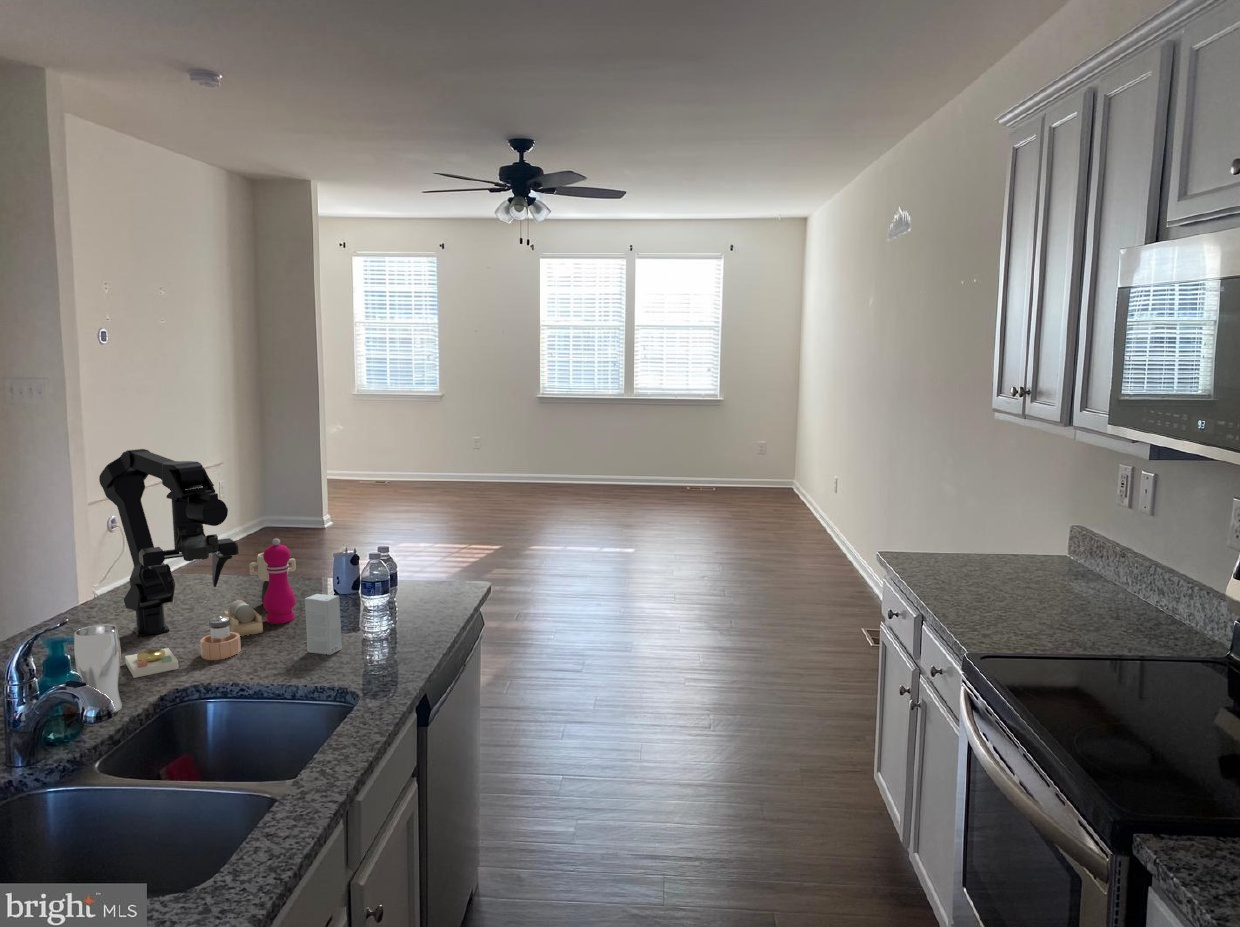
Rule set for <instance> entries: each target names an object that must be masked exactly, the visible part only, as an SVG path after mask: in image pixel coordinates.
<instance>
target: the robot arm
mask: <svg viewBox="0 0 1240 927" xmlns="http://www.w3.org/2000/svg"><path fill="white" fill-rule="evenodd" d="M148 476H152V477H155V478H158V479H160V481H161V485H162V486H163V487H166V488H167V490H170V491H169V493H167V494H166V499H169V500H171V512H172V529H173V546H174V548H173V549H166V550H165V549H164V550H163V549H162V548H161V547H160V546H155V545H154V541H153V539H152V534H151V531H150V528H149V523H148V520H147V516H146V514H145V510H144V506H143V503H142V498H143V495H144V492H145V489H146V484H145V480H146V479H147V478H148ZM98 478H99V480H98V481H99V485H100V487H101V488H102V489H103V492H104V495H105V497H106V498H107V499H108V500H110V502H112V504H114V505H115V506H116V507H117V510H118V514H119V518H120V521H121V525H122V527H123V533H124V535H125V539H126V543H127V545H128V546H127V547H128V549H129V553H130V557H131V560H132V564H133V569H132V571H131V575H130V576H129V577H130V578H129V584H130V587H129V589H128V592H127V593H126V594H125V596H124V597H123V603H124V605H125V606H124V607H125V609H128V610H131V611H134V612H135V619H136V626H135V627H133V628H132V629H133V631H134V633H135V634H136V636H137V637H144V636H151V635H155V634H159V633H160V634H161V633H166V632H169V631H170V628H169V626H168V625H167V624H166V620H165V619H166V618H165V606H164V604H167V603H173V601H174V596H175V595H174V594H175V589H176V583H175V578H174V576H173V574H172V569H171V566H170V565H169V564H168V563H164V562H165V561H166V560H170V559H171V560H172V559H175V558H176V559H177V558H178V559H179V558H183V560H184V561H185V562H193V561H197V560H207V559H209V558H210V554H212V555H211V556H212V558H211V559H212V562H211V564H212V567H211V571H212V573H211V574H212V575H211V576H212V578H211V579H212V586H213V587H214V588H216V587H217V585H218V581H219V579H220V576H221V573H222V570H223V568H224V566H225V564H226V562H227V561H228V560H232V559H233V556H236V555H239V554H240V553H239V544H238V543H237V542H236V541H234V540H233V539H232V538H230V537H229V538H221V539H219V537H218V535H217V533H216V534H207V535H206V533H205V530H204V525H206V526H212V527H217V526H220V525H221V524H223V523H225V521H226V519H227V517H228V512H229V510H228V509H229V508H228V507H227V505H226V503H225V502H224V501H223V500H222V499H219V494H218V493H216V489H215V487H214V486H215V484H214V483H213V482H212V479H211V478H210V476H209V475H208V473H207V471H206V469H205V468H204V466H203V464H202V463H201V462H200V461H192V460H179V461H178V460H173V459H171V458H168V457H164V456H163V455H160V454H156V453H154V452H151V451H150V450H149V449H146V448H139V449H129V450H126V451H123V452H122V453H121V455H120V457H118V458H116V459H114V460H113V461H111V462H109V463H108V464H107V465H106V466H105V467H104V468H103V470H102V471H101V473H100V474H99V477H98Z"/></svg>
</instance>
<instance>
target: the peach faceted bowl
mask: <svg viewBox="0 0 1240 927" xmlns="http://www.w3.org/2000/svg"><path fill="white" fill-rule="evenodd" d="M199 644H200V647H199V648H200V657H201V658H202V659H204V660H209V661H218V660H225V658H226V659H229V658H228V657H230V658H232V657H231V656H233V655H235V654H238V655H239V654H240V653H241V652H242V646H241V644H242V643H241V637H240V635H239V634H238V633H234V632H230V640H229V641H225V642H220V643H211V638H210V634H208V635H205V636H203V637H202V638H201V639H200V640H199ZM240 651H241V652H240ZM239 652H240V653H239ZM235 656H236V655H235ZM233 657H234V656H233Z"/></svg>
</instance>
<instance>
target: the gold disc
mask: <svg viewBox="0 0 1240 927" xmlns="http://www.w3.org/2000/svg"><path fill="white" fill-rule="evenodd" d="M161 649H162V648H160V649H156V648H154V649H148V650H144V651H141V652H140V653H139V652H138V653H137V654H138V655H137V660H138V661H144V660H146V661H147V662H149V661H155V660H158V659H161V657H164V656H165V651H164V650H161Z"/></svg>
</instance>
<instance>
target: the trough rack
mask: <svg viewBox="0 0 1240 927" xmlns="http://www.w3.org/2000/svg"><path fill="white" fill-rule="evenodd" d="M223 617H229V621H230V632H234V633H238V634H239V635H240V636H242V637H245V636H244V635H247V636H250V635H249V634H252V635H256V634H261V633H264V629H263V628H264V626H263V620H262V619H263V618H262V615H260V614H259V613H258V612H257V611H256V610H254V608H253V607H252V606H250V605H249V604H248V603H246V602H245V601H244V600H241V599H237V600H234V601H233V602H231V604H230V606H229V611H228V610H223Z"/></svg>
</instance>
